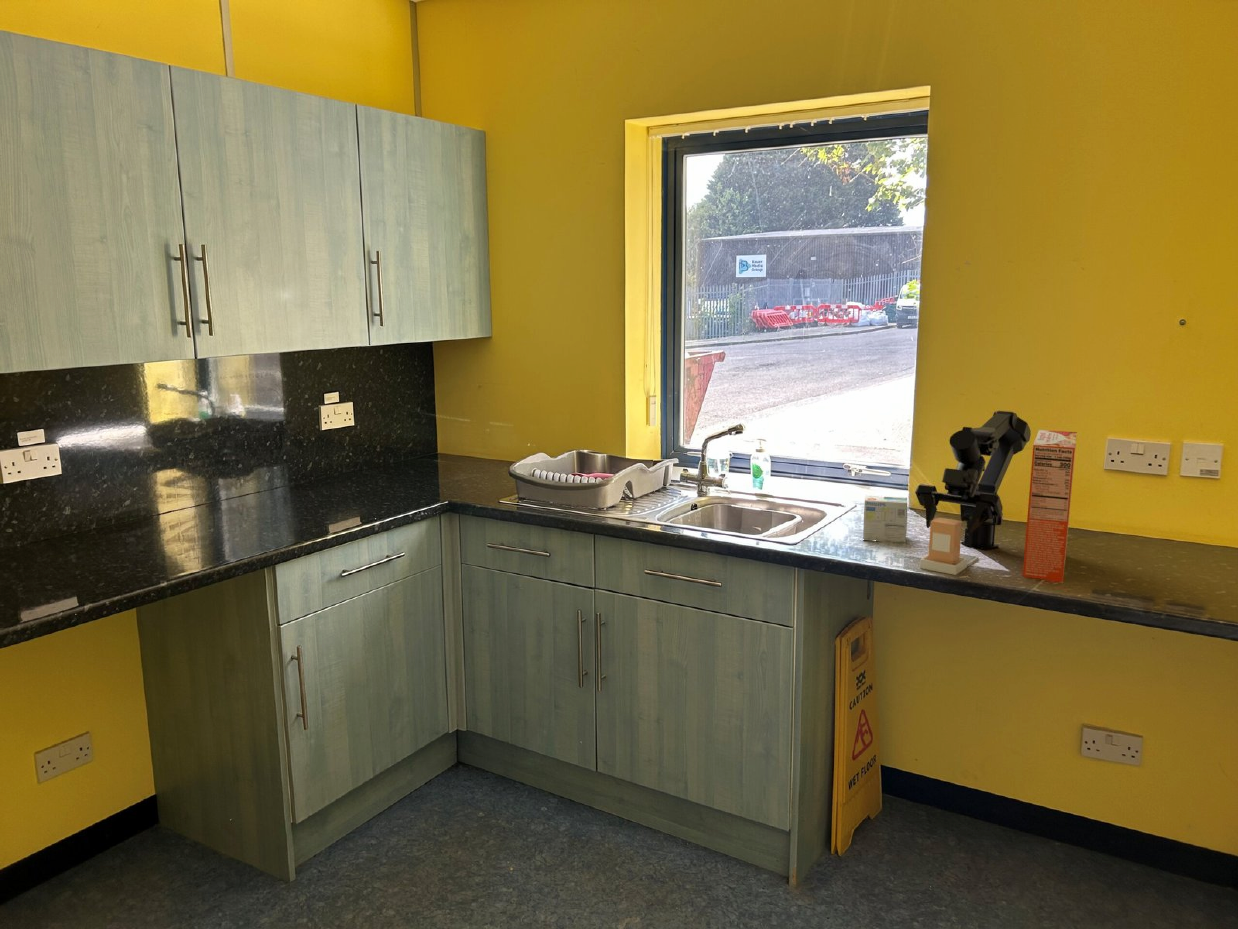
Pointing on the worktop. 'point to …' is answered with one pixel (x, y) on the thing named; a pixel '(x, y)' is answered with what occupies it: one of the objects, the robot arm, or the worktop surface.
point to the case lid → (969, 558)
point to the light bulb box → (885, 518)
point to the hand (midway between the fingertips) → (947, 530)
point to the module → (945, 540)
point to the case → (943, 566)
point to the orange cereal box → (1049, 505)
